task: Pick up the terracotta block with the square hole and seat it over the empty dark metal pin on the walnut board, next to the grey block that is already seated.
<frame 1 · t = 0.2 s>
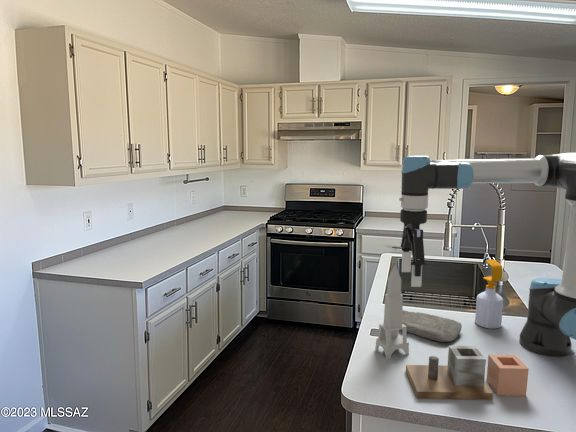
hand: (410, 278, 131), 28 cm above the counter, tool pointing down, fingers open, 13 cm apart
pin board: (446, 384, 125), on the counter
jaw block: (505, 387, 123), on the counter
stone: (421, 331, 160), on the counter
sculpture: (391, 352, 144), on the counter
spray bottle: (487, 324, 165), on the counter
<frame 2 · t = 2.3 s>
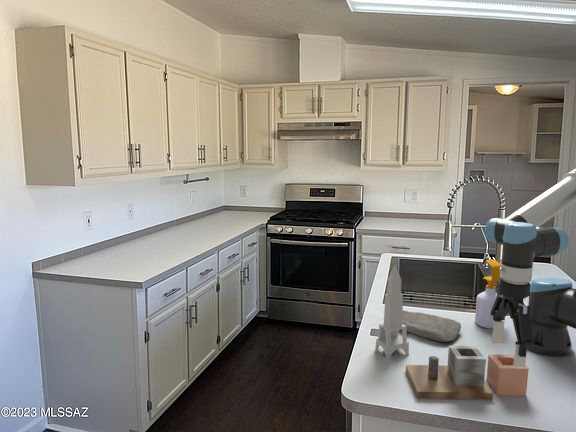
hand: (507, 354, 121), 10 cm above the counter, tool pointing down, fingers open, 13 cm apart
nothing on the counter moved.
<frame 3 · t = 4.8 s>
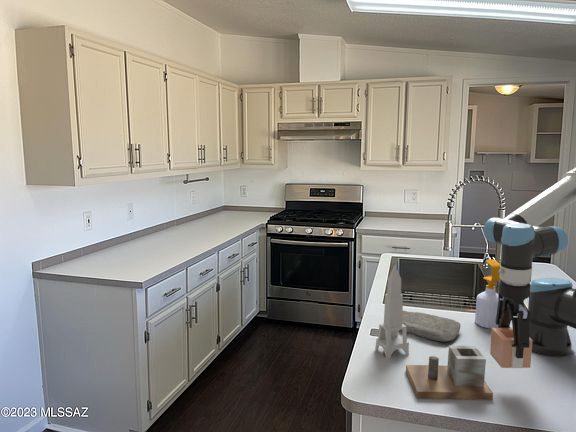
hand: (509, 359, 122), 8 cm above the counter, tool pointing down, fingers closed on jaw block, 8 cm apart
jaw block: (509, 360, 122), point 8 cm above the counter, touching gripper
everything else where it was.
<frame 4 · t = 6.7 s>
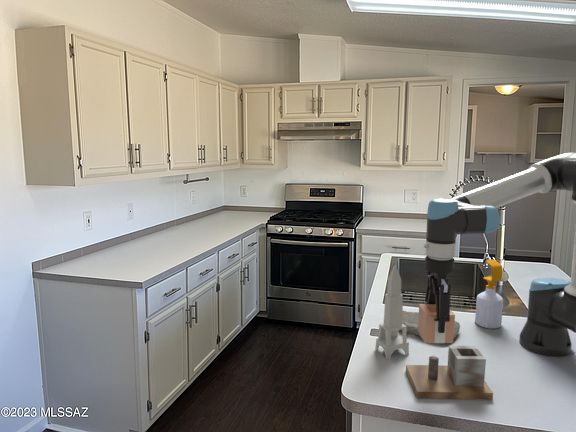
hand: (435, 335, 122), 15 cm above the counter, tool pointing down, fingers closed on jaw block, 8 cm apart
jaw block: (434, 336, 122), point 15 cm above the counter, touching gripper
everything else where it was.
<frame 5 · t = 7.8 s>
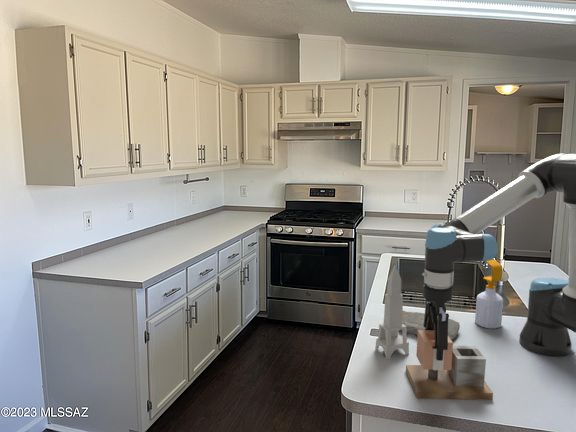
hand: (433, 361, 124), 7 cm above the counter, tool pointing down, fingers closed on jaw block, 8 cm apart
jaw block: (433, 362, 124), point 7 cm above the counter, touching gripper
everything else where it was.
when the fingers open (4 cm above the counter, at t = 8.8 s): jaw block drops 1 cm, resting on pin board.
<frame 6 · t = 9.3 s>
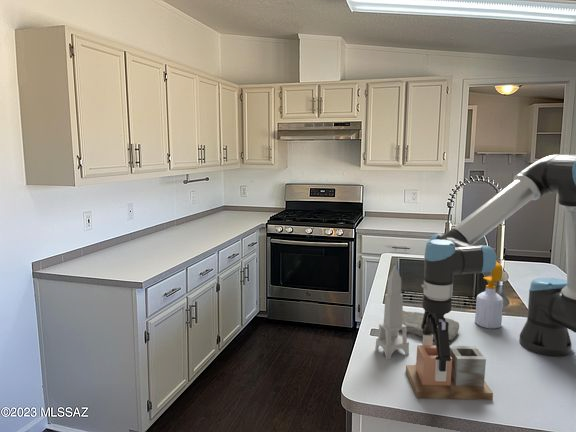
hand: (433, 367, 124), 5 cm above the counter, tool pointing down, fingers open, 13 cm apart
jaw block: (432, 377, 125), point 2 cm above the counter, touching pin board
everything else where it was.
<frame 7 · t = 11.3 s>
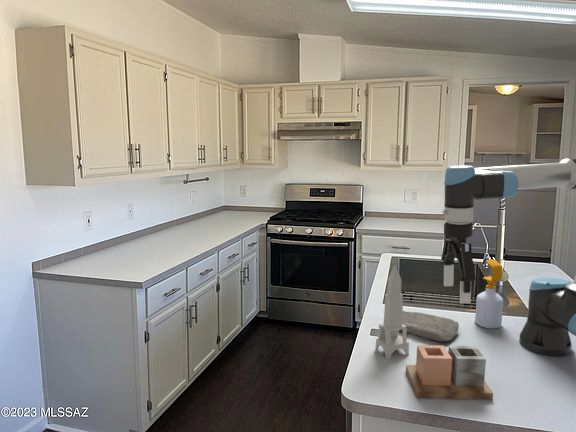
hand: (456, 294, 126), 25 cm above the counter, tool pointing down, fingers open, 13 cm apart
nothing on the counter moved.
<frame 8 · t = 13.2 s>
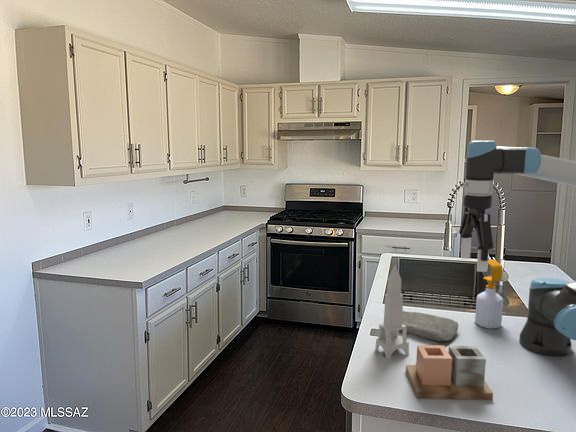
hand: (473, 264, 131), 32 cm above the counter, tool pointing down, fingers open, 13 cm apart
nothing on the counter moved.
at the end: jaw block 0.0 cm from the target spot on the pin board, point 2.0 cm above the pin board's base; jaw block tilted 0°; the gripper is holding nothing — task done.
